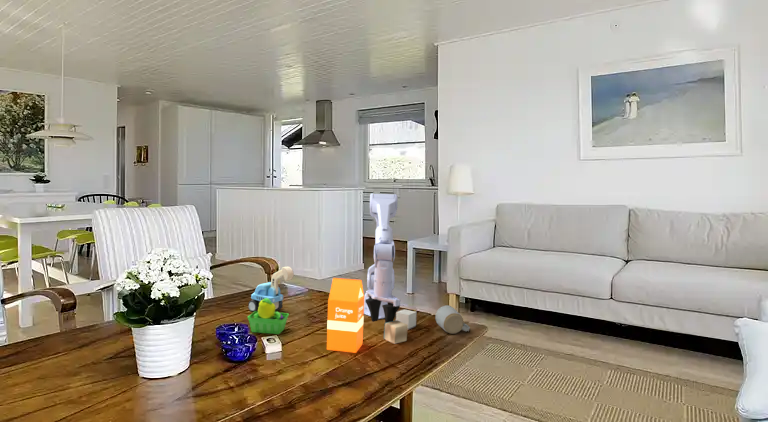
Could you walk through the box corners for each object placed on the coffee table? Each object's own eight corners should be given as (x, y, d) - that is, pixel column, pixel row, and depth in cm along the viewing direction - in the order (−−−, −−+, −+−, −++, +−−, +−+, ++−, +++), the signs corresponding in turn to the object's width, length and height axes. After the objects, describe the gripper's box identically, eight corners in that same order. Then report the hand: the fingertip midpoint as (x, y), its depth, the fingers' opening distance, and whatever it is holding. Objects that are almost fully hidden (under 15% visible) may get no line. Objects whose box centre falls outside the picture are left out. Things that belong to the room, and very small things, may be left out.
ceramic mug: (443, 335, 150) (444, 311, 149) (434, 327, 158) (435, 305, 157) (473, 334, 153) (475, 311, 152) (463, 326, 160) (465, 304, 160)
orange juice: (356, 352, 132) (358, 282, 131) (326, 349, 134) (328, 280, 133) (362, 343, 140) (365, 277, 139) (334, 340, 142) (336, 275, 140)
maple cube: (384, 322, 144) (395, 327, 140) (396, 320, 147) (407, 324, 143) (383, 338, 144) (394, 343, 141) (395, 335, 148) (406, 340, 144)
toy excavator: (280, 318, 162) (281, 269, 161) (245, 310, 170) (246, 263, 169) (297, 313, 169) (298, 266, 168) (262, 305, 177) (263, 260, 176)
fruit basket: (289, 328, 152) (290, 293, 151) (280, 337, 143) (281, 300, 142) (255, 326, 153) (255, 291, 152) (244, 334, 144) (245, 298, 143)
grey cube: (395, 327, 157) (396, 312, 157) (403, 323, 161) (403, 309, 161) (408, 330, 155) (408, 315, 154) (415, 326, 159) (416, 311, 158)
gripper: (359, 278, 151) (357, 320, 152) (388, 287, 140) (387, 331, 141) (376, 276, 156) (374, 316, 156) (406, 284, 145) (404, 327, 145)
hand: (381, 323), depth 149 cm, fingers open, 6 cm apart
